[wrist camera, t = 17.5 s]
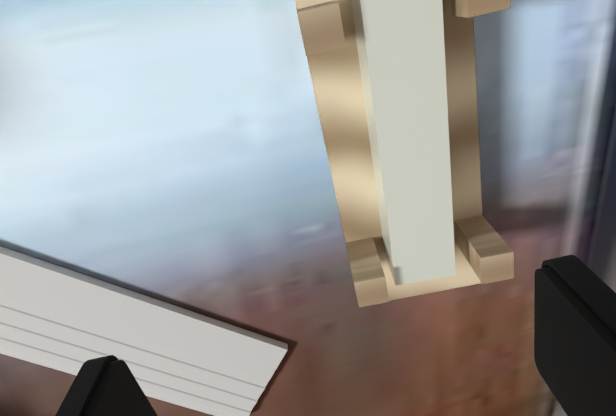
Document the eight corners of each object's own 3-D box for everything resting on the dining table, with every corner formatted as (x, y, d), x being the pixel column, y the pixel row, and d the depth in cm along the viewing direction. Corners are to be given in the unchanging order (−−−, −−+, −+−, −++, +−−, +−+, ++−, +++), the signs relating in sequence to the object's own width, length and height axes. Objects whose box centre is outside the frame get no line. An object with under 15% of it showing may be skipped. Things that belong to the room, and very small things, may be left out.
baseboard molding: (237, 424, 43) (287, 336, 38) (233, 452, 40) (287, 361, 35) (-117, 322, 36) (-106, 201, 31) (-149, 347, 33) (-143, 220, 29)
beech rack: (280, -69, 24) (276, -87, 19) (461, -115, 24) (508, -146, 18) (357, 299, 35) (368, 352, 30) (481, 276, 35) (514, 325, 30)
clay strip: (344, -51, 24) (352, -60, 20) (416, -67, 24) (438, -78, 20) (384, 253, 33) (395, 285, 29) (438, 244, 32) (455, 275, 29)
